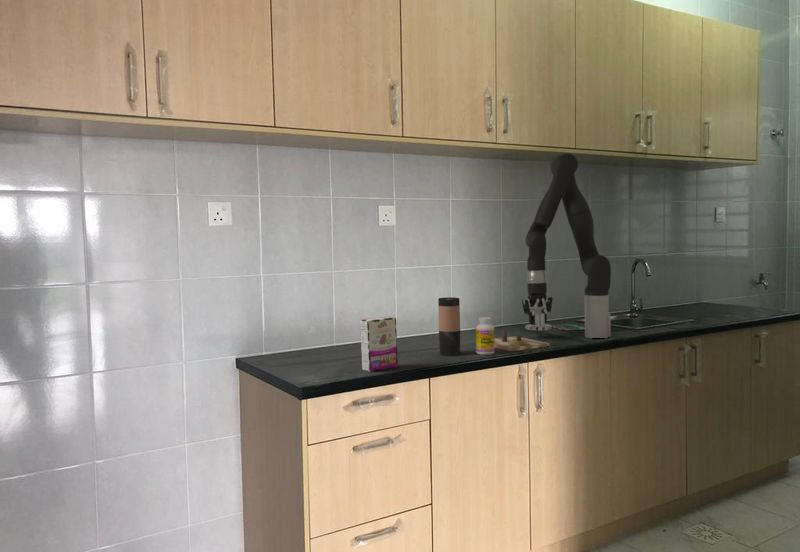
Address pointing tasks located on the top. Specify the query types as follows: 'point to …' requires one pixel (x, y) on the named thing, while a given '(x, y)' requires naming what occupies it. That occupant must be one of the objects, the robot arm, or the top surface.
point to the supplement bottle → (484, 336)
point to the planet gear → (538, 322)
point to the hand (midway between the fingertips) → (538, 323)
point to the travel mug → (449, 326)
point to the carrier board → (514, 348)
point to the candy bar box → (379, 343)
